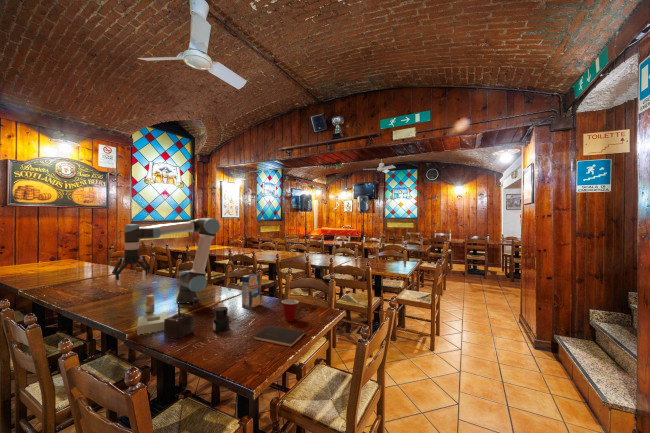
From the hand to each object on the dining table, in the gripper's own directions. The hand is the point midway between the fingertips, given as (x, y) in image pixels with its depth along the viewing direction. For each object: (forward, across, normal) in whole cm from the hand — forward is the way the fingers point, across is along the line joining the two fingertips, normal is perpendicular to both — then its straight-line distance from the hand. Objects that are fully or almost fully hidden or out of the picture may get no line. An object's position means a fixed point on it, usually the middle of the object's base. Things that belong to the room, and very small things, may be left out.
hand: (131, 282), depth 171 cm
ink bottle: (+23, -22, +59) cm, 67 cm away
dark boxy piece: (+23, -8, +45) cm, 51 cm away
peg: (+23, -6, +10) cm, 26 cm away
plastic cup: (+24, -56, +81) cm, 102 cm away
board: (+23, -2, +24) cm, 33 cm away
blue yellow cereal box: (+24, -60, +40) cm, 76 cm away
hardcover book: (+24, -35, +93) cm, 102 cm away
